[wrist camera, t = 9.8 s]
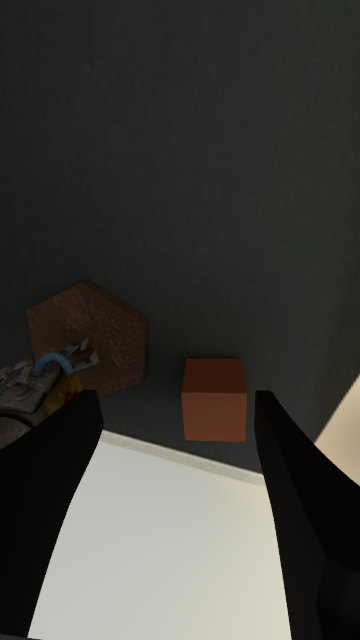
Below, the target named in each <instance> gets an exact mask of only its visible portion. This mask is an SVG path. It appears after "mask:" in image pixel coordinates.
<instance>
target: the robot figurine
mask: <svg viewBox="0 0 360 640" xmlns="http://www.w3.org/2000/svg"><path fill="white" fill-rule="evenodd" d="M26 314H27V320H28V325H29V331H30V336H31V342H32V347H33V353H34V359H35V360H34V359H32V358H29V359H26V360H24V361H21V362H19V363H17V364H15V365H7V366H6V367H5V368H3V369H1V370H0V385H1V384H3V383H4V382H5V381H6V379H7V374H8V375H11V374H13V373H14V372H15V370H16V369H18V368H20V367H22V366H24V365H25V367H24V369H23V371H22V372H21V373H20V374H18V375H17V376H16V377H15V378H13V379H12V380H11V381H9V382H8V383H7V384H6V385H7V387H8V389H7V390H5V391H4V392H3V393H2V394H1V395H0V449H2V448H4V447H5V446H7V445H8V444H10V443H12V442H13V441H15V440H16V439H18V438H19V437H21V436H22V435H24V434H25V433H26V432H28V431H29V430H31V429H32V428H33V427H35V426H36V425H37V424H39V423H40V422H42V421H43V420H44V419H46V418H47V417H48V416H50V415H51V414H52V413H53V412H55V411H56V410H57V409H59V408H60V407H61V406H62V405H64V404H65V403H66V402H67V401H69V400H70V399H71V398H73V397H74V396H75V395H76V394H78V393H79V392H81V391H82V390H83V389H96V392H97V396H98V397H101V396H104V395H107V394H110V393H113V392H116V391H118V390H121V389H124V388H127V387H130V386H133V385H136V384H138V383H141V382H144V379H145V376H146V354H147V318H146V317H145V316H143V315H142V314H140V313H139V312H137V311H135V310H134V309H132V308H131V307H129V306H128V305H126V304H125V303H123V302H122V301H120V300H119V299H117V298H115V297H114V296H112V295H111V294H109V293H108V292H106V291H105V290H103V289H102V288H100V287H99V286H97V285H95V284H94V283H92V282H91V281H89V280H88V279H86V280H84V281H82V282H80V283H78V284H76V285H74V286H72V287H70V288H68V289H66V290H64V291H62V292H60V293H58V294H56V295H54V296H52V297H50V298H48V299H46V300H44V301H42V302H40V303H38V304H36V305H34V306H32V307H31V308H29V309H27V310H26Z"/></svg>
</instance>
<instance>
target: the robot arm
mask: <svg viewBox="0 0 360 640" xmlns="http://www.w3.org/2000/svg"><path fill="white" fill-rule="evenodd" d="M103 426H104V420H103V416H102V412H101V408H100V404H99V400H98V396H97V392H96V389H83V390H82V391H81V392H79V393H78V394H76V395H75V396H74V397H73V398H71V399H70V400H69V401H67V402H66V403H65V404H64V405H62V406H61V407H60V408H59V409H57V410H56V411H55V412H53V413H52V414H51V415H50V416H48V417H47V418H46V419H44V420H43V421H42V422H40V423H39V424H37V425H36V426H35V427H33V428H32V429H31V430H29V431H28V432H26V433H25V434H24V435H22V436H21V437H19V438H18V439H16V440H15V441H13V442H12V443H10V444H8V445H7V446H5V447H4V448H2V449H0V640H40V639H32V638H27V637H28V632H29V629H30V626H31V622H32V619H33V615H34V612H35V608H36V605H37V601H38V598H39V594H40V591H41V588H42V584H43V581H44V578H45V575H46V572H47V568H48V565H49V562H50V559H51V556H52V553H53V550H54V547H55V544H56V541H57V538H58V535H59V532H60V529H61V527H62V524H63V521H64V519H65V516H66V513H67V510H68V508H69V505H70V503H71V500H72V498H73V496H74V493H75V491H76V489H77V487H78V485H79V483H80V481H81V479H82V477H83V474H84V472H85V470H86V468H87V466H88V464H89V462H90V460H91V457H92V455H93V453H94V451H95V449H96V446H97V444H98V441H99V438H100V436H101V432H102V429H103ZM254 430H255V437H256V445H257V451H258V455H259V459H260V463H261V467H262V471H263V475H264V479H265V483H266V487H267V491H268V495H269V499H270V503H271V508H272V513H273V517H274V523H275V529H276V536H277V541H278V548H279V555H280V562H281V568H282V575H283V581H284V588H285V595H286V602H287V609H288V616H289V623H290V631H291V638H292V640H360V486H359V485H358V484H356V483H355V482H354V481H353V480H351V479H350V478H349V477H348V476H347V475H346V474H344V473H343V472H342V471H341V470H340V469H339V468H338V467H337V466H336V465H335V464H333V463H332V462H331V461H330V460H329V459H328V458H327V457H326V456H325V455H324V454H323V453H322V452H321V451H320V450H319V449H318V448H317V447H316V446H315V445H314V444H313V443H312V441H311V440H310V439H309V438H308V437H307V436H306V435H305V434H304V433H303V431H302V430H301V429H300V428H299V427H298V426H297V424H296V423H295V422H294V421H293V420H292V418H291V417H290V416H289V415H288V413H287V412H286V411H285V409H284V408H283V407H282V405H281V404H280V403H279V401H278V400H277V398H276V397H275V395H274V394H273V393H272V392H271V391H256V394H255V418H254Z"/></svg>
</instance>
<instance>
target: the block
mask: <svg viewBox="0 0 360 640" xmlns="http://www.w3.org/2000/svg"><path fill="white" fill-rule="evenodd" d="M181 399H182V411H183V423H184V435H185V440H201V441H231V442H245V436H246V410H247V390H246V385H245V380H244V374H243V369H242V363H241V359H240V358H187V359H186V364H185V370H184V377H183V383H182V390H181Z"/></svg>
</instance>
